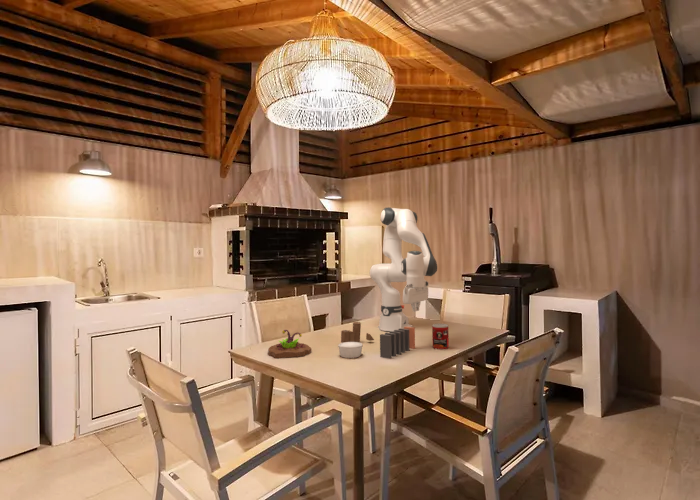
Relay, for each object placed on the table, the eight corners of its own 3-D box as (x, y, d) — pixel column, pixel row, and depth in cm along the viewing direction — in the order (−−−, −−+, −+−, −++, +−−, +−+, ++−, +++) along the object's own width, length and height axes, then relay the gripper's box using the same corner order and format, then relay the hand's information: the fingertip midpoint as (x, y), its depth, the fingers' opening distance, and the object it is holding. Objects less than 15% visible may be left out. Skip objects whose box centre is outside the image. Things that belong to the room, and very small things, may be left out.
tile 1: (400, 349, 199) (400, 328, 199) (409, 350, 196) (409, 329, 196) (398, 349, 198) (398, 328, 198) (407, 351, 195) (407, 330, 195)
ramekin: (338, 352, 194) (338, 341, 194) (362, 352, 194) (362, 341, 194) (337, 359, 183) (337, 347, 183) (362, 359, 183) (362, 347, 183)
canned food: (431, 348, 199) (431, 326, 199) (433, 345, 206) (433, 323, 206) (447, 349, 196) (447, 326, 196) (449, 346, 203) (449, 323, 203)
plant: (264, 350, 203) (264, 327, 203) (303, 346, 210) (302, 324, 210) (272, 360, 184) (272, 335, 184) (314, 355, 191) (314, 331, 191)
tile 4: (387, 354, 190) (386, 332, 190) (396, 355, 186) (396, 333, 186) (385, 355, 188) (384, 333, 188) (394, 356, 185) (394, 334, 185)
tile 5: (382, 356, 186) (381, 334, 186) (391, 357, 183) (391, 335, 183) (380, 356, 185) (379, 334, 185) (389, 358, 182) (389, 335, 182)
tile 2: (396, 350, 196) (395, 329, 196) (405, 352, 193) (405, 330, 193) (394, 351, 195) (394, 330, 195) (403, 352, 192) (403, 331, 192)
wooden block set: (346, 348, 203) (347, 327, 202) (336, 343, 210) (337, 323, 209) (374, 343, 214) (375, 323, 213) (363, 339, 221) (364, 320, 220)
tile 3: (391, 352, 193) (391, 331, 193) (400, 354, 190) (400, 332, 190) (389, 353, 191) (389, 331, 191) (399, 354, 188) (398, 332, 188)
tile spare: (406, 346, 203) (405, 326, 203) (415, 348, 200) (414, 327, 200) (404, 347, 202) (404, 327, 202) (413, 348, 199) (413, 328, 199)
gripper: (410, 285, 196) (411, 314, 196) (430, 282, 212) (430, 309, 212) (399, 284, 200) (399, 313, 200) (419, 281, 216) (419, 308, 216)
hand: (415, 311), depth 206 cm, fingers closed
